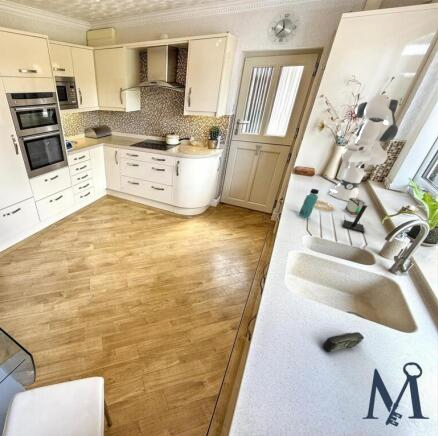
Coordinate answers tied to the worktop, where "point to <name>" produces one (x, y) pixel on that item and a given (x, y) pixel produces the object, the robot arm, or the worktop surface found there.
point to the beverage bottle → (309, 203)
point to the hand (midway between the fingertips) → (352, 168)
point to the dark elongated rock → (342, 341)
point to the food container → (354, 206)
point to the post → (355, 222)
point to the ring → (324, 207)
